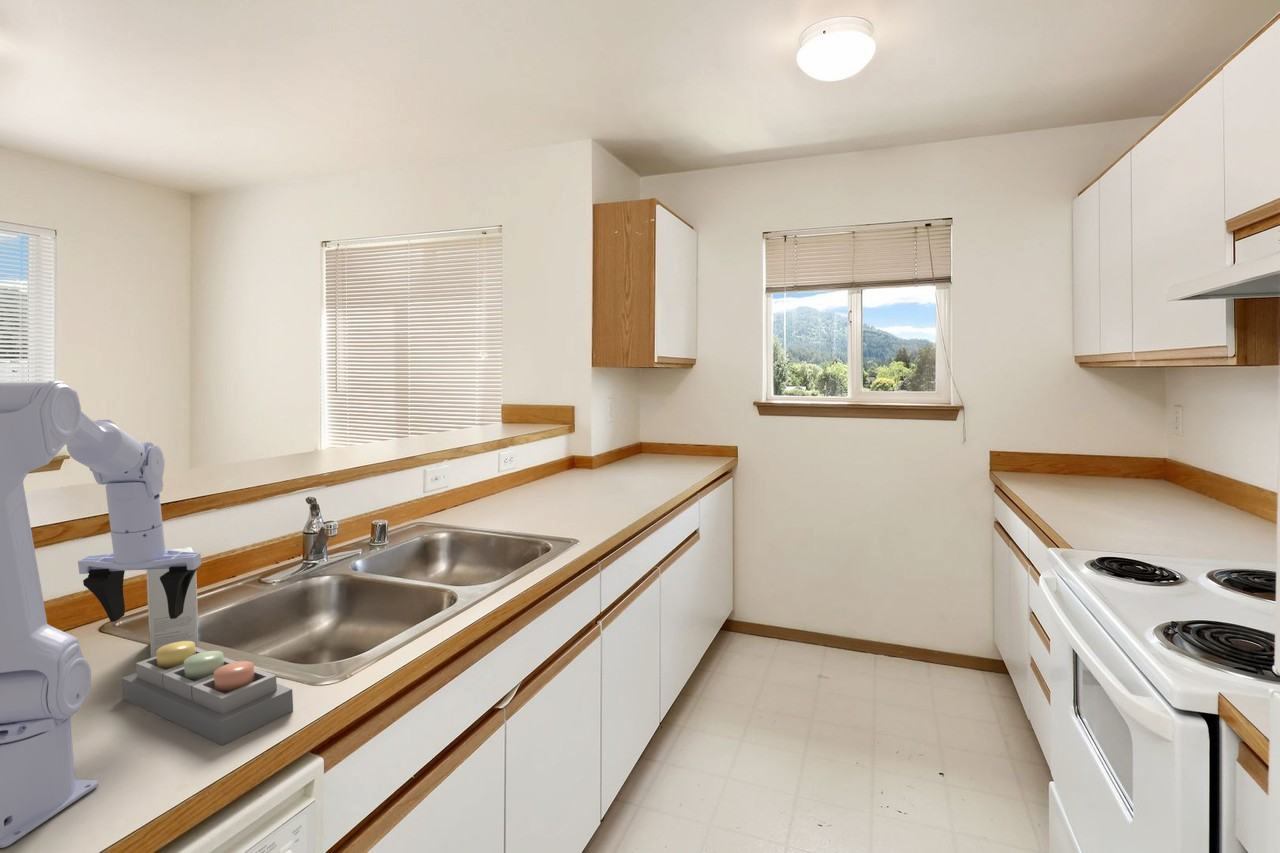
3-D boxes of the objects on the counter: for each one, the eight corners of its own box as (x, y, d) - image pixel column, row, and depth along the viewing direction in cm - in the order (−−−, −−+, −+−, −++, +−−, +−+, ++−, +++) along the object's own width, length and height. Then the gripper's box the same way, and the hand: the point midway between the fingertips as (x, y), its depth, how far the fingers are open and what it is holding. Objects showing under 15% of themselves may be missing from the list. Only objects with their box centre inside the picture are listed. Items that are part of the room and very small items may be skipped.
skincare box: (150, 643, 106) (144, 552, 104) (197, 633, 110) (193, 545, 109) (150, 660, 99) (144, 563, 98) (201, 649, 103) (196, 556, 102)
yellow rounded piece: (202, 658, 89) (201, 644, 89) (167, 671, 86) (166, 656, 85) (185, 652, 91) (184, 638, 91) (150, 664, 88) (149, 650, 87)
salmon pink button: (261, 680, 83) (261, 665, 83) (227, 694, 79) (226, 679, 79) (242, 672, 85) (241, 658, 85) (207, 687, 81) (206, 672, 81)
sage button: (231, 668, 86) (230, 654, 86) (196, 682, 82) (195, 667, 82) (212, 662, 88) (212, 648, 88) (177, 675, 84) (176, 660, 84)
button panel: (293, 710, 84) (291, 674, 84) (222, 745, 76) (220, 705, 76) (193, 671, 95) (191, 640, 95) (123, 698, 87) (120, 663, 87)
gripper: (208, 516, 93) (216, 602, 95) (97, 519, 91) (108, 607, 93) (182, 532, 86) (191, 624, 89) (62, 535, 84) (75, 630, 86)
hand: (147, 617), depth 90 cm, fingers open, 7 cm apart
